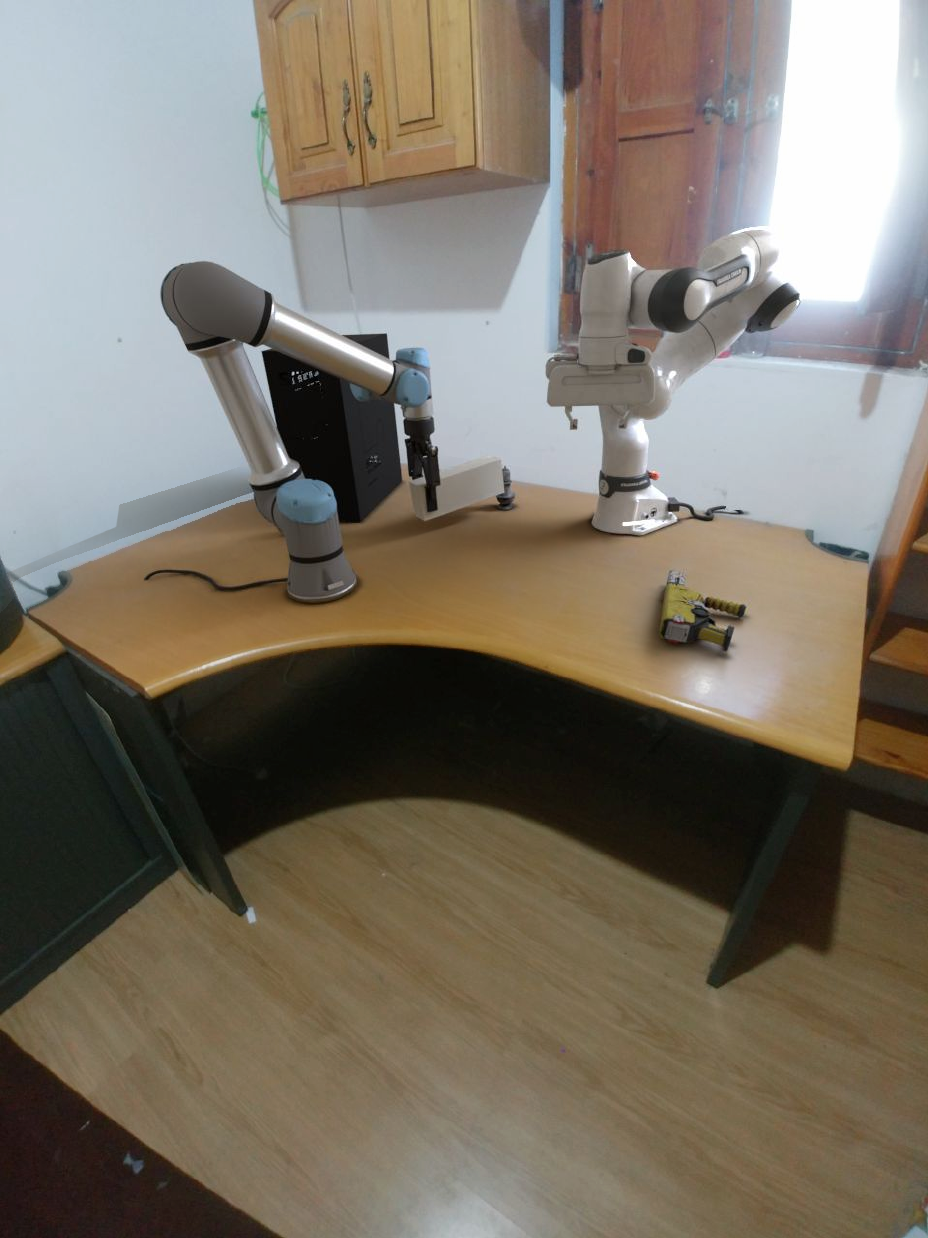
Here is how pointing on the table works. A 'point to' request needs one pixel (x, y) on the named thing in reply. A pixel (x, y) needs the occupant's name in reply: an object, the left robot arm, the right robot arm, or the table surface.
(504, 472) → the grey chess piece
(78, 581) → the table surface
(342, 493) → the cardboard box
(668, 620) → the toy gun
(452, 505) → the bar
